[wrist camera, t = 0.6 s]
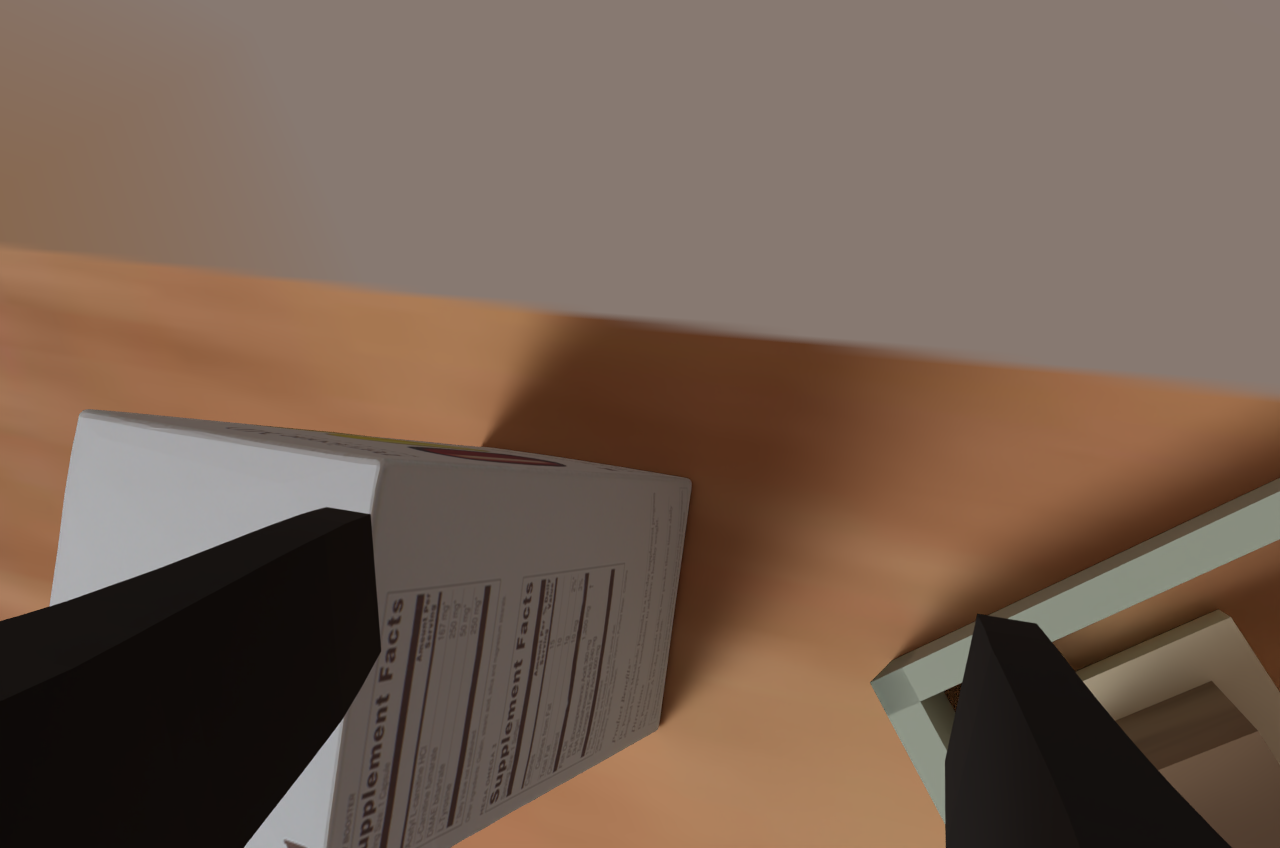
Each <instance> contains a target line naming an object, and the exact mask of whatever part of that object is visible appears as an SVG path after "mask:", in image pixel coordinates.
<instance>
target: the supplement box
mask: <svg viewBox="0 0 1280 848" xmlns="http://www.w3.org/2000/svg"><path fill="white" fill-rule="evenodd" d="M691 488H692V482H691V480H690V479H688V478H684V477H678V476H673V475H667V474H661V473H655V472H649V471H643V470H637V469H631V468H625V467H619V466H612V465H606V464H600V463H594V462H588V461H581V460H575V459H568V458H562V457H555V456H549V455H542V454H535V453H528V452H520V451H513V450H506V449H499V448H490V447H475V446H463V445H452V444H443V443H433V442H423V441H412V440H401V439H390V438H380V437H370V436H361V435H353V434H344V433H335V432H325V431H314V430H303V429H293V428H282V427H271V426H261V425H251V424H241V423H230V422H220V421H210V420H200V419H189V418H179V417H169V416H158V415H148V414H138V413H127V412H115V411H104V410H91V409H88V410H83V411H82V412H81V413H80V414H79V418H78V424H77V429H76V434H75V438H74V442H73V447H72V453H71V458H70V465H69V471H68V477H67V483H66V490H65V496H64V504H63V512H62V520H61V528H60V536H59V544H58V552H57V558H56V565H55V572H54V579H53V586H52V593H51V600H50V606H53V605H56V604H59V603H62V602H65V601H68V600H71V599H74V598H77V597H80V596H83V595H85V594H88V593H91V592H94V591H97V590H99V589H102V588H105V587H108V586H111V585H114V584H116V583H119V582H122V581H125V580H128V579H130V578H133V577H136V576H139V575H142V574H144V573H147V572H150V571H153V570H156V569H158V568H161V567H164V566H166V565H169V564H172V563H174V562H177V561H179V560H182V559H184V558H187V557H190V556H192V555H195V554H197V553H200V552H202V551H205V550H208V549H210V548H213V547H215V546H218V545H220V544H223V543H225V542H228V541H231V540H233V539H236V538H238V537H241V536H243V535H246V534H249V533H251V532H254V531H256V530H259V529H262V528H264V527H267V526H269V525H272V524H275V523H278V522H280V521H283V520H286V519H289V518H291V517H294V516H297V515H300V514H303V513H306V512H310V511H313V510H317V509H321V508H324V507H330V508H336V509H342V510H348V511H354V512H360V513H366V514H371V525H372V537H373V550H374V563H375V575H376V588H377V601H378V614H379V626H380V639H381V653H380V655H379V656H378V658H377V660H376V662H375V664H374V666H373V667H372V669H371V671H370V673H369V675H368V677H367V678H366V680H365V682H364V684H363V686H362V688H361V689H360V691H359V693H358V694H357V696H356V698H355V699H354V701H353V703H352V704H351V706H350V708H349V709H348V711H347V713H346V714H345V716H344V718H343V719H342V721H341V722H340V723H339V725H338V726H337V728H336V729H335V730H334V732H333V733H332V734H331V736H330V737H329V738H328V740H327V741H326V742H325V744H324V745H323V746H322V747H321V749H320V750H319V751H318V753H317V754H316V755H315V757H314V758H313V759H312V761H311V762H310V763H309V765H308V766H307V767H306V768H305V770H304V771H303V772H302V774H301V775H300V776H299V778H298V779H297V780H296V781H295V783H294V784H293V785H292V786H291V788H290V789H289V790H288V792H287V793H286V794H285V795H284V797H283V798H282V799H281V801H280V802H279V803H278V804H277V806H276V807H275V808H274V810H273V811H272V812H271V813H270V815H269V816H268V817H267V819H266V820H265V821H264V822H263V824H262V825H261V826H260V828H259V829H258V830H257V831H256V833H255V834H254V835H253V837H252V838H251V839H250V840H249V842H248V843H247V844H246V846H245V847H244V848H450V847H452V846H454V845H455V844H457V843H459V842H460V841H462V840H464V839H465V838H467V837H469V836H471V835H473V834H475V833H476V832H478V831H480V830H482V829H484V828H486V827H487V826H489V825H491V824H492V823H494V822H495V821H497V820H499V819H500V818H502V817H504V816H506V815H507V814H509V813H511V812H512V811H514V810H516V809H518V808H520V807H522V806H523V805H525V804H527V803H529V802H531V801H533V800H535V799H536V798H538V797H540V796H541V795H543V794H545V793H547V792H549V791H550V790H552V789H554V788H555V787H557V786H559V785H561V784H563V783H565V782H566V781H568V780H570V779H572V778H574V777H575V776H577V775H578V774H580V773H583V772H584V771H586V770H587V769H589V768H591V767H593V766H595V765H597V764H598V763H600V762H602V761H604V760H605V759H607V758H609V757H611V756H612V755H614V754H616V753H618V752H620V751H621V750H623V749H625V748H626V747H628V746H630V745H632V744H634V743H635V742H637V741H639V740H641V739H642V738H644V737H646V736H648V735H650V734H651V733H653V732H655V731H656V730H657V729H658V727H659V722H660V715H661V708H662V700H663V693H664V686H665V678H666V671H667V664H668V656H669V649H670V641H671V634H672V626H673V618H674V611H675V604H676V597H677V590H678V583H679V576H680V568H681V561H682V554H683V547H684V539H685V532H686V524H687V517H688V510H689V502H690V495H691ZM50 606H49V607H50Z"/></svg>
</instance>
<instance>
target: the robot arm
mask: <svg viewBox="0 0 1280 848" xmlns="http://www.w3.org/2000/svg"><path fill="white" fill-rule="evenodd" d="M380 653H381V639H380V626H379V614H378V601H377V588H376V575H375V563H374V550H373V537H372V525H371V514H366V513H360V512H354V511H348V510H342V509H336V508H330V507H324V508H321V509H317V510H313V511H310V512H306V513H303V514H300V515H297V516H294V517H291V518H289V519H286V520H283V521H280V522H278V523H275V524H272V525H269V526H267V527H264V528H262V529H259V530H256V531H254V532H251V533H249V534H246V535H243V536H241V537H238V538H236V539H233V540H231V541H228V542H225V543H223V544H220V545H218V546H215V547H213V548H210V549H208V550H205V551H202V552H200V553H197V554H195V555H192V556H190V557H187V558H184V559H182V560H179V561H177V562H174V563H172V564H169V565H166V566H164V567H161V568H158V569H156V570H153V571H150V572H147V573H144V574H142V575H139V576H136V577H133V578H130V579H128V580H125V581H122V582H119V583H116V584H114V585H111V586H108V587H105V588H102V589H99V590H97V591H94V592H91V593H88V594H85V595H83V596H80V597H77V598H74V599H71V600H68V601H65V602H62V603H59V604H56V605H53V606H50V607H46V608H43V609H40V610H37V611H33V612H30V613H27V614H24V615H20V616H17V617H13V618H10V619H6V620H3V621H0V848H244V847H245V846H246V844H247V843H248V842H249V840H250V839H251V838H252V837H253V835H254V834H255V833H256V831H257V830H258V829H259V828H260V826H261V825H262V824H263V822H264V821H265V820H266V819H267V817H268V816H269V815H270V813H271V812H272V811H273V810H274V808H275V807H276V806H277V804H278V803H279V802H280V801H281V799H282V798H283V797H284V795H285V794H286V793H287V792H288V790H289V789H290V788H291V786H292V785H293V784H294V783H295V781H296V780H297V779H298V778H299V776H300V775H301V774H302V772H303V771H304V770H305V768H306V767H307V766H308V765H309V763H310V762H311V761H312V759H313V758H314V757H315V755H316V754H317V753H318V751H319V750H320V749H321V747H322V746H323V745H324V744H325V742H326V741H327V740H328V738H329V737H330V736H331V734H332V733H333V732H334V730H335V729H336V728H337V726H338V725H339V723H340V722H341V721H342V719H343V718H344V716H345V714H346V713H347V711H348V709H349V708H350V706H351V704H352V703H353V701H354V699H355V698H356V696H357V694H358V693H359V691H360V689H361V688H362V686H363V684H364V682H365V680H366V678H367V677H368V675H369V673H370V671H371V669H372V667H373V666H374V664H375V662H376V660H377V658H378V656H379V655H380ZM945 828H946V848H1232V847H1231V846H1230V845H1229V844H1228V843H1227V842H1226V841H1225V840H1224V839H1223V838H1222V837H1221V836H1220V835H1219V834H1218V833H1217V832H1216V831H1215V830H1214V829H1213V828H1212V827H1211V826H1210V825H1209V824H1208V823H1207V822H1206V820H1205V819H1204V818H1203V817H1202V816H1201V815H1200V814H1199V813H1198V812H1197V811H1196V810H1195V809H1194V808H1193V807H1192V806H1191V805H1190V804H1189V803H1188V802H1187V801H1186V800H1185V799H1184V798H1183V797H1182V796H1181V795H1180V793H1179V792H1178V791H1177V790H1176V789H1175V788H1174V787H1173V786H1172V785H1171V784H1170V783H1169V782H1168V781H1167V780H1166V778H1165V777H1164V776H1163V775H1162V774H1161V773H1160V772H1159V771H1158V770H1157V769H1156V767H1155V766H1154V765H1153V764H1152V763H1151V762H1150V761H1149V760H1148V759H1147V757H1146V756H1145V755H1144V754H1143V753H1142V752H1141V751H1140V749H1139V748H1138V747H1137V746H1136V745H1135V744H1134V743H1133V741H1132V740H1131V739H1130V738H1129V737H1128V736H1127V734H1126V733H1125V732H1124V731H1123V730H1122V728H1121V727H1120V726H1119V725H1118V724H1117V723H1116V721H1115V720H1114V719H1113V718H1112V717H1111V715H1110V714H1109V713H1108V712H1107V711H1106V709H1105V708H1104V707H1103V706H1102V705H1101V703H1100V702H1099V701H1098V700H1097V698H1096V697H1095V696H1094V695H1093V693H1092V692H1091V691H1090V690H1089V688H1088V687H1087V686H1086V685H1085V683H1084V682H1083V681H1082V680H1081V678H1080V677H1079V676H1078V675H1077V674H1076V672H1075V671H1074V670H1073V668H1072V667H1071V666H1070V665H1069V663H1068V662H1067V661H1066V660H1065V658H1064V657H1063V656H1062V654H1061V653H1060V652H1059V651H1058V649H1057V648H1056V647H1055V646H1054V644H1053V643H1052V642H1051V640H1050V639H1049V638H1048V637H1047V635H1046V634H1045V633H1044V632H1043V631H1042V629H1041V628H1040V627H1039V626H1038V624H1037V623H1031V622H1024V621H1018V620H1012V619H1006V618H1000V617H994V616H988V615H982V614H977V617H976V622H975V626H974V631H973V635H972V640H971V645H970V649H969V654H968V658H967V663H966V667H965V672H964V676H963V681H962V685H961V690H960V695H959V699H958V704H957V708H956V713H955V717H954V722H953V726H952V731H951V735H950V740H949V744H948V749H947V754H946V758H945Z"/></svg>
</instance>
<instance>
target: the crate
mask: <svg viewBox="0 0 1280 848" xmlns="http://www.w3.org/2000/svg"><path fill="white" fill-rule="evenodd" d="M1279 539H1280V478H1278V479H1276V480H1274V481H1272V482H1270V483H1268V484H1265V485H1263V486H1261V487H1259V488H1257V489H1255V490H1253V491H1251V492H1248V493H1246V494H1244V495H1242V496H1240V497H1238V498H1236V499H1234V500H1232V501H1229V502H1227V503H1225V504H1223V505H1221V506H1219V507H1217V508H1215V509H1212V510H1210V511H1208V512H1206V513H1204V514H1202V515H1200V516H1198V517H1195V518H1193V519H1191V520H1189V521H1187V522H1185V523H1183V524H1181V525H1178V526H1176V527H1174V528H1172V529H1170V530H1168V531H1166V532H1164V533H1161V534H1159V535H1157V536H1155V537H1153V538H1151V539H1149V540H1147V541H1145V542H1142V543H1140V544H1138V545H1136V546H1134V547H1132V548H1130V549H1128V550H1125V551H1123V552H1121V553H1119V554H1117V555H1115V556H1113V557H1111V558H1108V559H1106V560H1104V561H1102V562H1100V563H1098V564H1096V565H1094V566H1091V567H1089V568H1087V569H1085V570H1083V571H1081V572H1079V573H1077V574H1075V575H1072V576H1070V577H1068V578H1066V579H1064V580H1062V581H1060V582H1058V583H1055V584H1053V585H1051V586H1049V587H1047V588H1045V589H1043V590H1041V591H1038V592H1036V593H1034V594H1032V595H1030V596H1028V597H1026V598H1024V599H1021V600H1019V601H1017V602H1015V603H1013V604H1011V605H1009V606H1007V607H1005V608H1002V609H1000V610H998V611H996V612H994V613H992V614H990V615H988V616H994V617H1000V618H1006V619H1012V620H1018V621H1024V622H1031V623H1037V624H1038V626H1039V627H1040V628H1041V629H1042V631H1043V632H1044V633H1045V634H1046V635H1047V637H1048V638H1049V639H1050V640H1051V642H1053V641H1055V640H1057V639H1060V638H1062V637H1064V636H1066V635H1069V634H1071V633H1073V632H1075V631H1077V630H1080V629H1082V628H1084V627H1086V626H1088V625H1091V624H1093V623H1095V622H1097V621H1100V620H1102V619H1104V618H1106V617H1108V616H1111V615H1113V614H1115V613H1117V612H1119V611H1122V610H1124V609H1126V608H1128V607H1131V606H1133V605H1135V604H1137V603H1139V602H1142V601H1144V600H1146V599H1148V598H1150V597H1153V596H1155V595H1157V594H1159V593H1162V592H1164V591H1166V590H1168V589H1170V588H1173V587H1175V586H1177V585H1179V584H1181V583H1184V582H1186V581H1188V580H1190V579H1193V578H1195V577H1197V576H1199V575H1201V574H1204V573H1206V572H1208V571H1210V570H1212V569H1215V568H1217V567H1219V566H1221V565H1224V564H1226V563H1228V562H1230V561H1232V560H1235V559H1237V558H1239V557H1241V556H1243V555H1246V554H1248V553H1250V552H1252V551H1255V550H1257V549H1259V548H1261V547H1263V546H1266V545H1268V544H1270V543H1272V542H1274V541H1277V540H1279ZM975 622H976V621H975ZM975 622H973V623H971V624H968V625H966V626H964V627H962V628H960V629H958V630H956V631H954V632H951V633H949V634H947V635H945V636H943V637H941V638H939V639H937V640H935V641H932V642H930V643H928V644H926V645H924V646H922V647H920V648H918V649H915V650H913V651H911V652H909V653H907V654H905V655H903V656H901V657H898V658H896V659H894V660H892V661H891V662H890V663H889V664H888V665H887V666H886V667H885V668H884V669H883V670H882V671H881V672H880V673H879V674H878V675H877V676H876V677H875V678H874V679H873V680H872V681H871V682H870V683H871V685H872V687H873V689H874V691H875V693H876V695H877V697H878V699H879V700H880V702H881V704H882V706H883V708H884V710H885V712H886V714H887V716H888V717H889V719H890V721H891V723H892V725H893V727H894V729H895V731H896V732H897V734H898V736H899V738H900V740H901V742H902V744H903V746H904V748H905V749H906V751H907V753H908V755H909V757H910V759H911V761H912V763H913V765H914V766H915V768H916V770H917V772H918V774H919V776H920V778H921V780H922V781H923V783H924V785H925V787H926V789H927V791H928V793H929V795H930V797H931V798H932V800H933V802H934V804H935V806H936V808H937V810H938V812H939V814H940V815H941V817H942V819H943V821H944V823H945V758H946V754H947V749H948V744H949V740H950V735H951V731H952V726H953V722H954V717H955V711H954V709H953V707H952V705H951V704H950V702H949V700H948V698H947V696H946V694H945V693H944V691H945V690H947V689H949V688H951V687H953V686H956V685H958V684H960V683H962V681H963V676H964V672H965V667H966V663H967V658H968V654H969V649H970V645H971V640H972V635H973V631H974V626H975ZM1076 674H1077V675H1078V676H1079V677H1080V678H1081V680H1082V681H1083V682H1084V683H1085V685H1086V686H1087V687H1088V688H1089V690H1090V691H1091V692H1092V693H1093V695H1094V696H1095V697H1096V698H1097V700H1098V701H1099V702H1100V703H1101V705H1102V706H1103V707H1104V708H1105V709H1106V711H1107V712H1108V713H1109V714H1110V715H1111V717H1112V718H1113V719H1114V720H1115V721H1116V720H1118V719H1121V718H1123V717H1126V716H1128V715H1130V714H1133V713H1135V712H1138V711H1140V710H1142V709H1145V708H1147V707H1150V706H1152V705H1154V704H1157V703H1159V702H1162V701H1164V700H1167V699H1169V698H1171V697H1174V696H1176V695H1179V694H1181V693H1183V692H1186V691H1188V690H1191V689H1193V688H1195V687H1198V686H1200V685H1203V684H1205V683H1207V682H1210V681H1212V682H1213V683H1214V684H1215V685H1216V686H1217V687H1218V688H1219V689H1220V690H1221V691H1222V692H1223V693H1224V695H1225V696H1226V697H1227V698H1228V699H1229V700H1230V701H1231V702H1232V703H1233V704H1234V705H1235V706H1236V707H1237V709H1238V710H1239V711H1240V712H1241V713H1242V714H1243V715H1244V716H1245V717H1246V718H1247V719H1248V720H1249V722H1250V723H1251V724H1252V725H1253V726H1254V727H1255V728H1256V729H1257V730H1258V731H1259V733H1260V735H1261V736H1262V738H1263V739H1264V741H1265V742H1266V744H1267V746H1268V747H1269V749H1270V750H1271V752H1272V753H1273V755H1274V757H1275V758H1276V760H1277V761H1278V763H1279V764H1280V692H1279V690H1278V689H1277V687H1276V686H1275V684H1274V683H1273V681H1272V679H1271V678H1270V676H1269V675H1268V673H1267V672H1266V670H1265V669H1264V667H1263V666H1262V664H1261V662H1260V661H1259V659H1258V658H1257V656H1256V655H1255V653H1254V652H1253V650H1252V649H1251V647H1250V646H1249V644H1248V642H1247V641H1246V639H1245V638H1244V636H1243V635H1242V633H1241V632H1240V630H1239V629H1238V627H1237V626H1236V624H1235V622H1234V621H1233V619H1232V618H1231V617H1230V616H1229V615H1227V614H1225V613H1224V612H1222V611H1220V610H1219V609H1218V610H1215V611H1213V612H1211V613H1209V614H1206V615H1204V616H1202V617H1199V618H1197V619H1195V620H1193V621H1190V622H1188V623H1186V624H1183V625H1181V626H1179V627H1177V628H1174V629H1172V630H1170V631H1167V632H1165V633H1163V634H1161V635H1158V636H1156V637H1154V638H1151V639H1149V640H1147V641H1145V642H1142V643H1140V644H1138V645H1135V646H1133V647H1131V648H1129V649H1126V650H1124V651H1122V652H1120V653H1117V654H1115V655H1113V656H1110V657H1108V658H1106V659H1104V660H1101V661H1099V662H1097V663H1094V664H1092V665H1090V666H1088V667H1085V668H1083V669H1081V670H1078V671H1076Z"/></svg>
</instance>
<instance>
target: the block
mask: <svg viewBox="0 0 1280 848" xmlns="http://www.w3.org/2000/svg"><path fill="white" fill-rule="evenodd" d="M1116 723H1117V724H1118V725H1119V726H1120V727H1121V728H1122V730H1123V731H1124V732H1125V733H1126V734H1127V736H1128V737H1129V738H1130V739H1131V740H1132V741H1133V743H1134V744H1135V745H1136V746H1137V747H1138V748H1139V749H1140V751H1141V752H1142V753H1143V754H1144V755H1145V756H1146V757H1147V759H1148V760H1149V761H1150V762H1151V763H1152V764H1153V765H1154V766H1155V767H1156V769H1157V770H1158V771H1159V772H1160V773H1161V774H1162V775H1163V776H1164V777H1165V778H1166V780H1167V781H1168V782H1169V783H1170V784H1171V785H1172V786H1173V787H1174V788H1175V789H1176V790H1177V791H1178V792H1179V793H1180V795H1181V796H1182V797H1183V798H1184V799H1185V800H1186V801H1187V802H1188V803H1189V804H1190V805H1191V806H1192V807H1193V808H1194V809H1195V810H1196V811H1197V812H1198V813H1199V814H1200V815H1201V816H1202V817H1203V818H1204V819H1205V820H1206V822H1207V823H1208V824H1209V825H1210V826H1211V827H1212V828H1213V829H1214V830H1215V831H1216V832H1217V833H1218V834H1219V835H1220V836H1221V837H1222V838H1223V839H1224V840H1225V841H1226V842H1227V843H1228V844H1229V845H1230V846H1231V847H1232V848H1280V764H1279V763H1278V761H1277V760H1276V758H1275V757H1274V755H1273V753H1272V752H1271V750H1270V749H1269V747H1268V746H1267V744H1266V742H1265V741H1264V739H1263V738H1262V736H1261V735H1260V733H1259V731H1258V730H1257V729H1256V728H1255V727H1254V726H1253V725H1252V724H1251V723H1250V722H1249V720H1248V719H1247V718H1246V717H1245V716H1244V715H1243V714H1242V713H1241V712H1240V711H1239V710H1238V709H1237V707H1236V706H1235V705H1234V704H1233V703H1232V702H1231V701H1230V700H1229V699H1228V698H1227V697H1226V696H1225V695H1224V693H1223V692H1222V691H1221V690H1220V689H1219V688H1218V687H1217V686H1216V685H1215V684H1214V683H1213V682H1212V681H1210V682H1207V683H1205V684H1203V685H1200V686H1198V687H1195V688H1193V689H1191V690H1188V691H1186V692H1183V693H1181V694H1179V695H1176V696H1174V697H1171V698H1169V699H1167V700H1164V701H1162V702H1159V703H1157V704H1154V705H1152V706H1150V707H1147V708H1145V709H1142V710H1140V711H1138V712H1135V713H1133V714H1130V715H1128V716H1126V717H1123V718H1121V719H1118V720H1116Z"/></svg>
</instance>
